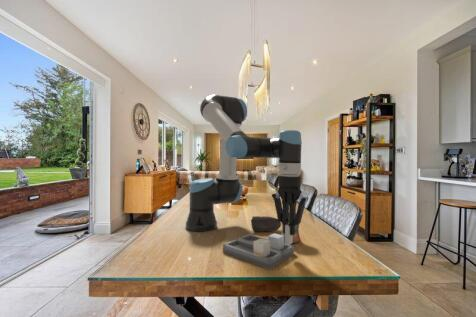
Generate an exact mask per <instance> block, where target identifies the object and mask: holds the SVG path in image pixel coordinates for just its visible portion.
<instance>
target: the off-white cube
mask: <svg viewBox="0 0 476 317" xmlns="http://www.w3.org/2000/svg"><path fill="white" fill-rule="evenodd" d="M253 253H255V254H258V255H261V256H264V257H266V256H268V255H269V254H270V241H268V240H264V239H261V238H260V239H258V240H256V241H253Z"/></svg>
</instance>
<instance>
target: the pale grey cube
mask: <svg viewBox="0 0 476 317" xmlns="http://www.w3.org/2000/svg"><path fill="white" fill-rule="evenodd" d="M267 239H268V241H270V247H271V248H275V249H278V250H281V249H283V248H284V243H285V242H284V236H283V235H281V234H278V233H272V234H270V235H268V237H267Z"/></svg>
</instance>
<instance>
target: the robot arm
mask: <svg viewBox="0 0 476 317" xmlns="http://www.w3.org/2000/svg"><path fill="white" fill-rule="evenodd" d="M246 104H247V103H246V102H245V101H244V100H243V99H241V98H238V97H233V96H226V95H219V94H211V95H209V96H206V97H205V98H204V99H203V100H202V102H200V107H199V111H200V114H201V117H202V118H203V119H204V120H205V121H206V122H208V123H210V124H211V125H212V127H213V128H214V129H215V130H216V131H217V133H218V134H219V135H220V137H221V138H220V151H219V152H220V154H219V171H218V174H217V175H216V177H215V180H214V178H210V177H209V178H199V179H195V180H193V181H191V182H190V185H189V191H188V192H189V212H188V215H187V219H186V221H185V229H186V230H188V231H191V232H206V231H207V232H208V231H213V230H215V229H216V228H217V227H218V221H217V219H216V214H215V211H214V208H215V207H214V205H219V204H231V203H236V202H238V201H239V200H240V199H241V197H242V195H243V186H242V185H243V183H242V182H241V181H240V179H239V177H238V175H237V160H238V159H244V158H245V159H246V158H247V159H248V158H249V159H253V158H254V159H278V174H279V176H278V188H277V191H276V192H275V193H272V194H271V197H272V199H273V201H274V207H275V211H276V217H277V218H276V219H278V221H279V222H282V223H283V233H285V242H284V243H285V244H287V245H292V244H294V243H293V235H294V234H295V225H298V224H299V225H300V224H301V221H302V218H303V214H304V210H305V207H306V203H307V202H308V200H309V197H308V196H304V194H303V193H302V190H301V185H302V182H301V181H302V177H301V174H302V144H303V143H302V133H301V131H299V130H293V129H290V130H289V129H288V130H285V129H284V130H281V131H280V132H279V134H278V137H257V136H256V137H255V136H248V134H247V133H246V132H244V131H243V130H242V129H241V128H240V127H241V126H242V124H243V123H244V122H245V121H246V118H247V116H248V107H247V105H246ZM298 200H299V202H298ZM297 202H298V206H297ZM282 223H281V224H282ZM288 223H289V224H288Z"/></svg>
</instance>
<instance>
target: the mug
mask: <svg viewBox="0 0 476 317" xmlns="http://www.w3.org/2000/svg"><path fill="white" fill-rule="evenodd" d="M288 224H289V223H288ZM299 228H300V224H298V225H295V234H294V235H293V243H292V244H296V243H299V242H301V239H302V238H301V237H300V232H299V231H300V230H299ZM280 235H283V236H284V243H285V233H283V223H282V222H281V234H280Z"/></svg>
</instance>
